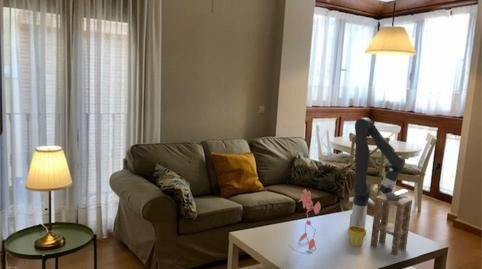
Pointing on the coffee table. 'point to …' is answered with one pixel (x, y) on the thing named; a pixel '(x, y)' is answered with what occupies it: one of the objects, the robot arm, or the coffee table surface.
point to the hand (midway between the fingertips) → (377, 207)
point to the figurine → (307, 203)
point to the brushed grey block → (397, 194)
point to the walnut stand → (393, 229)
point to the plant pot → (356, 235)
